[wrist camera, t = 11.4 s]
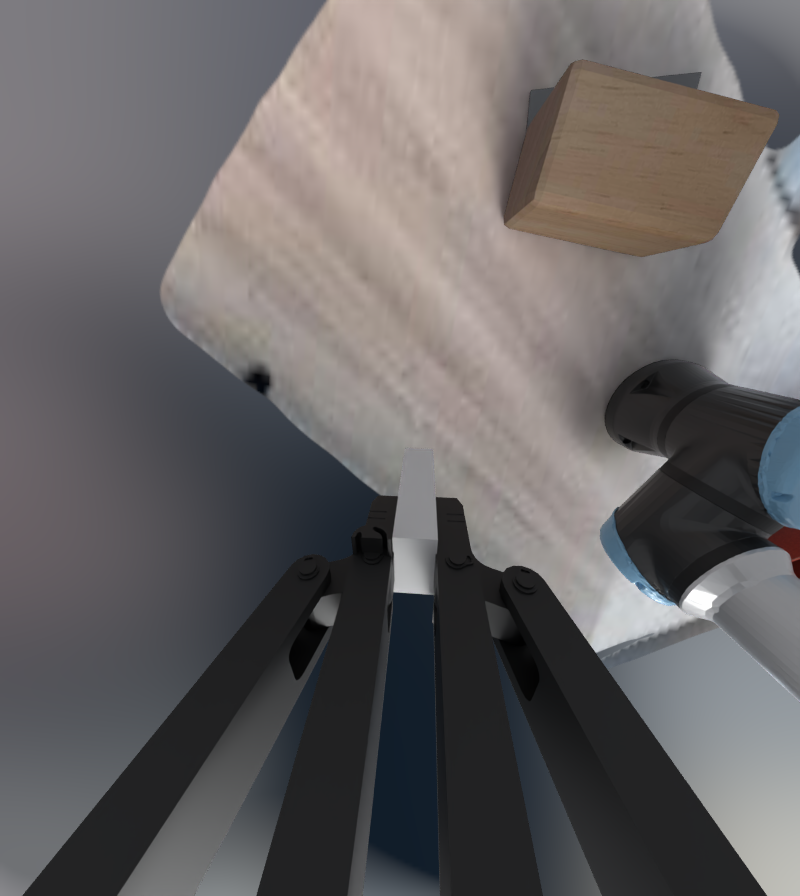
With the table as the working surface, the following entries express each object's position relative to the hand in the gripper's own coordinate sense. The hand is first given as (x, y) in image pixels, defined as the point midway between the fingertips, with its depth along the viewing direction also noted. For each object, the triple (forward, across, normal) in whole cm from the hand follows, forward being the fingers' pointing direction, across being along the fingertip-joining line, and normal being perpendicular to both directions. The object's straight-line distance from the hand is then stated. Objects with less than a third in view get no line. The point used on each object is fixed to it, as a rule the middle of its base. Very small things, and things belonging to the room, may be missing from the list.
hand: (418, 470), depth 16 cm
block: (+28, +10, +22) cm, 37 cm away
